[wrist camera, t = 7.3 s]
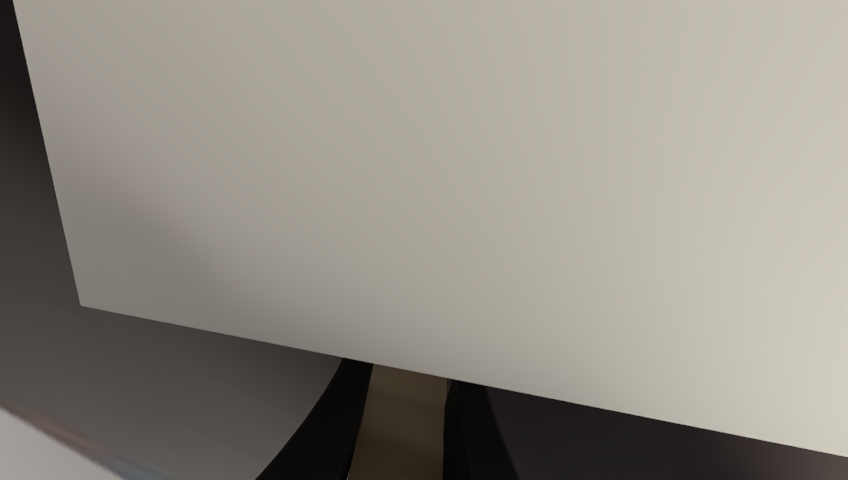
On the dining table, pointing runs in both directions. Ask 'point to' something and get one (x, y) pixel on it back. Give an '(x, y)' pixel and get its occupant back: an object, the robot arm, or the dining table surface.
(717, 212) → the cream cabinet
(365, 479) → the wood scraper
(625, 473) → the dining table surface
